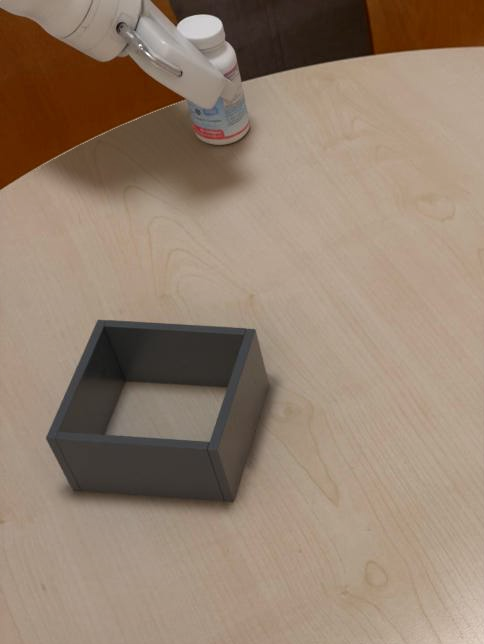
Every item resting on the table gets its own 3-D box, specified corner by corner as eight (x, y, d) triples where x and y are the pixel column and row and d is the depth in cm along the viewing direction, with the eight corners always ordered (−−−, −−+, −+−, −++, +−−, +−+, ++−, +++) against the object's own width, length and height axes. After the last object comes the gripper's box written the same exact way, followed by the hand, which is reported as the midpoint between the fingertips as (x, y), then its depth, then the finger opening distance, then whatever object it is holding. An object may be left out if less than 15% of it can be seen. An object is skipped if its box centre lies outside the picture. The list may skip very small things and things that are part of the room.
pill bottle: (183, 135, 116) (155, 30, 107) (221, 109, 119) (197, 4, 109) (225, 153, 114) (200, 48, 105) (262, 126, 117) (241, 21, 107)
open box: (77, 501, 88) (45, 438, 82) (124, 385, 96) (97, 319, 89) (237, 512, 87) (216, 449, 81) (272, 394, 95) (255, 328, 88)
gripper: (160, 21, 94) (277, 93, 106) (73, -68, 104) (189, 6, 115) (128, 86, 97) (245, 150, 108) (46, -7, 106) (162, 60, 117)
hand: (215, 75), depth 112 cm, fingers closed on pill bottle, 6 cm apart
